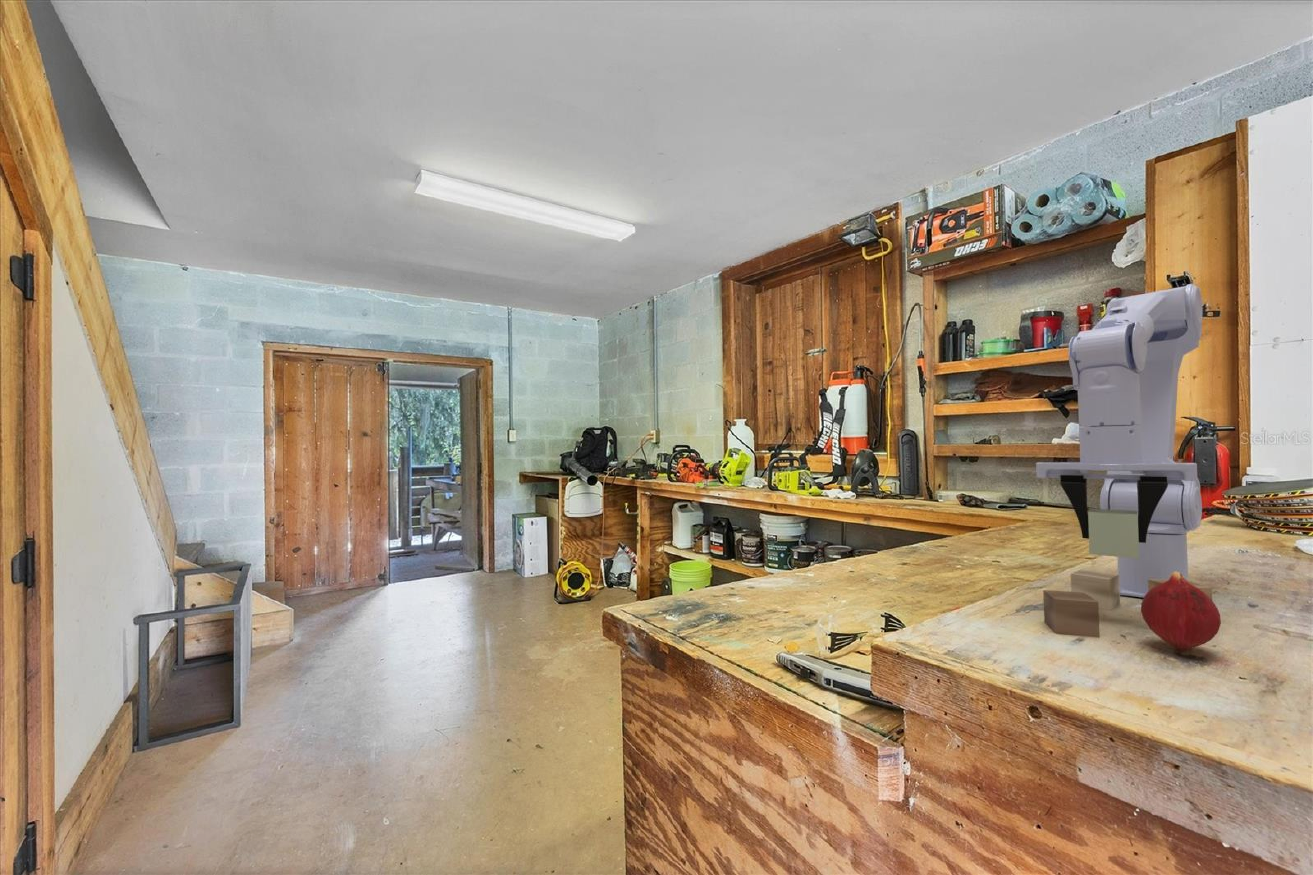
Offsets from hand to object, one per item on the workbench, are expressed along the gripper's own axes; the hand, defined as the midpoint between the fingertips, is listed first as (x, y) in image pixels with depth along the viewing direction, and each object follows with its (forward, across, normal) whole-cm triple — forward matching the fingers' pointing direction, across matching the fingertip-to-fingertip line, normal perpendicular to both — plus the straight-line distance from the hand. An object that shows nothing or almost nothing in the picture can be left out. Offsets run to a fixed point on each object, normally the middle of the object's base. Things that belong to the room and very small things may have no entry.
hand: (1113, 539), depth 64 cm
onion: (+10, +5, -8) cm, 14 cm away
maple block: (+10, -2, +7) cm, 13 cm away
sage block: (+2, 0, 0) cm, 2 cm away
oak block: (+10, +6, +7) cm, 14 cm away
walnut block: (+10, -4, -7) cm, 13 cm away
